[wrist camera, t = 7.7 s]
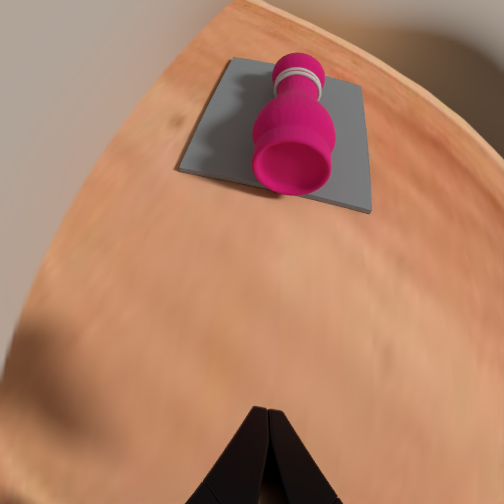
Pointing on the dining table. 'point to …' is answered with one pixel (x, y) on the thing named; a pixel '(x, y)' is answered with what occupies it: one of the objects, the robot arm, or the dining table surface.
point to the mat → (242, 146)
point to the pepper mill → (294, 130)
